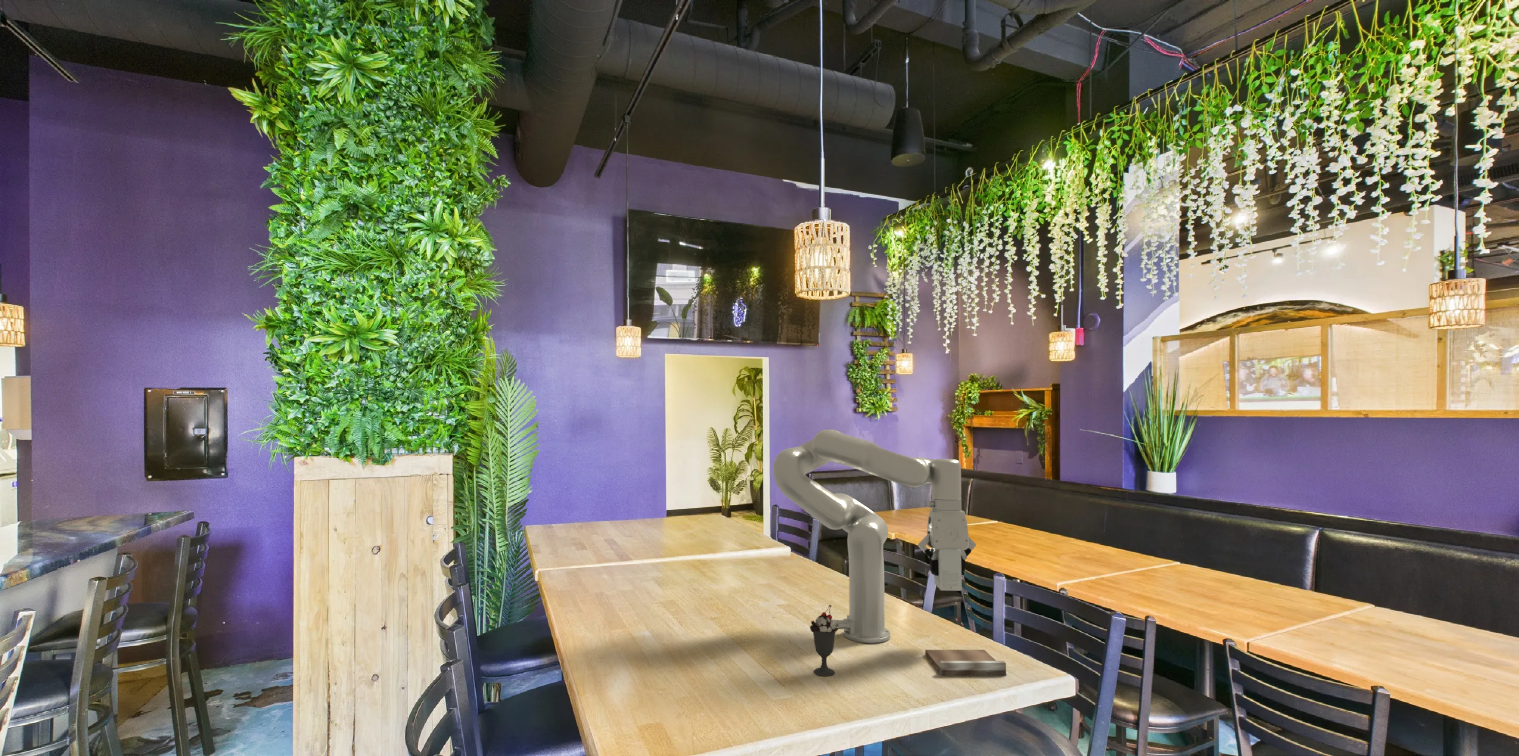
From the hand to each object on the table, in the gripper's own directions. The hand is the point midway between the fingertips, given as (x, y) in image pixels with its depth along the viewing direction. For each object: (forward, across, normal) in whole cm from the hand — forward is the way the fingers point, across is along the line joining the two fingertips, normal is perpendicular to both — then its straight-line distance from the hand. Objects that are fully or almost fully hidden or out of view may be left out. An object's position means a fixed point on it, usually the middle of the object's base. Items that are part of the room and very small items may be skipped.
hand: (947, 573), depth 164 cm
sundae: (+19, -37, -13) cm, 43 cm away
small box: (+4, 0, 0) cm, 4 cm away
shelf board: (+19, -2, -13) cm, 23 cm away
